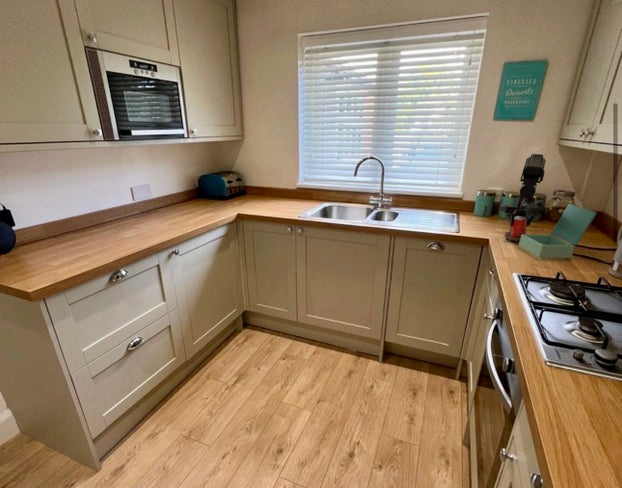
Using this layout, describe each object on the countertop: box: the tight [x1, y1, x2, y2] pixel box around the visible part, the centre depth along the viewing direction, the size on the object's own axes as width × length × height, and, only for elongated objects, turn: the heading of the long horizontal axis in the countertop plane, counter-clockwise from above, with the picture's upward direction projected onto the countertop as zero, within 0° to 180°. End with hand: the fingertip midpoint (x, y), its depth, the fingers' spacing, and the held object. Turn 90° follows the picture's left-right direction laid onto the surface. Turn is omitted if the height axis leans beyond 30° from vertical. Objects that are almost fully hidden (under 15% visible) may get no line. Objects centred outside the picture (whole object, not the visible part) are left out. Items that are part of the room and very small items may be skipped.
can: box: [510, 216, 527, 237], centre depth 155 cm, size 6×6×8 cm
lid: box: [550, 203, 598, 246], centre depth 140 cm, size 14×15×1 cm
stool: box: [503, 232, 521, 245], centre depth 158 cm, size 9×9×4 cm
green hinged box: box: [518, 233, 576, 259], centre depth 144 cm, size 14×15×6 cm
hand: (518, 227), depth 155 cm, fingers closed on can, 6 cm apart
